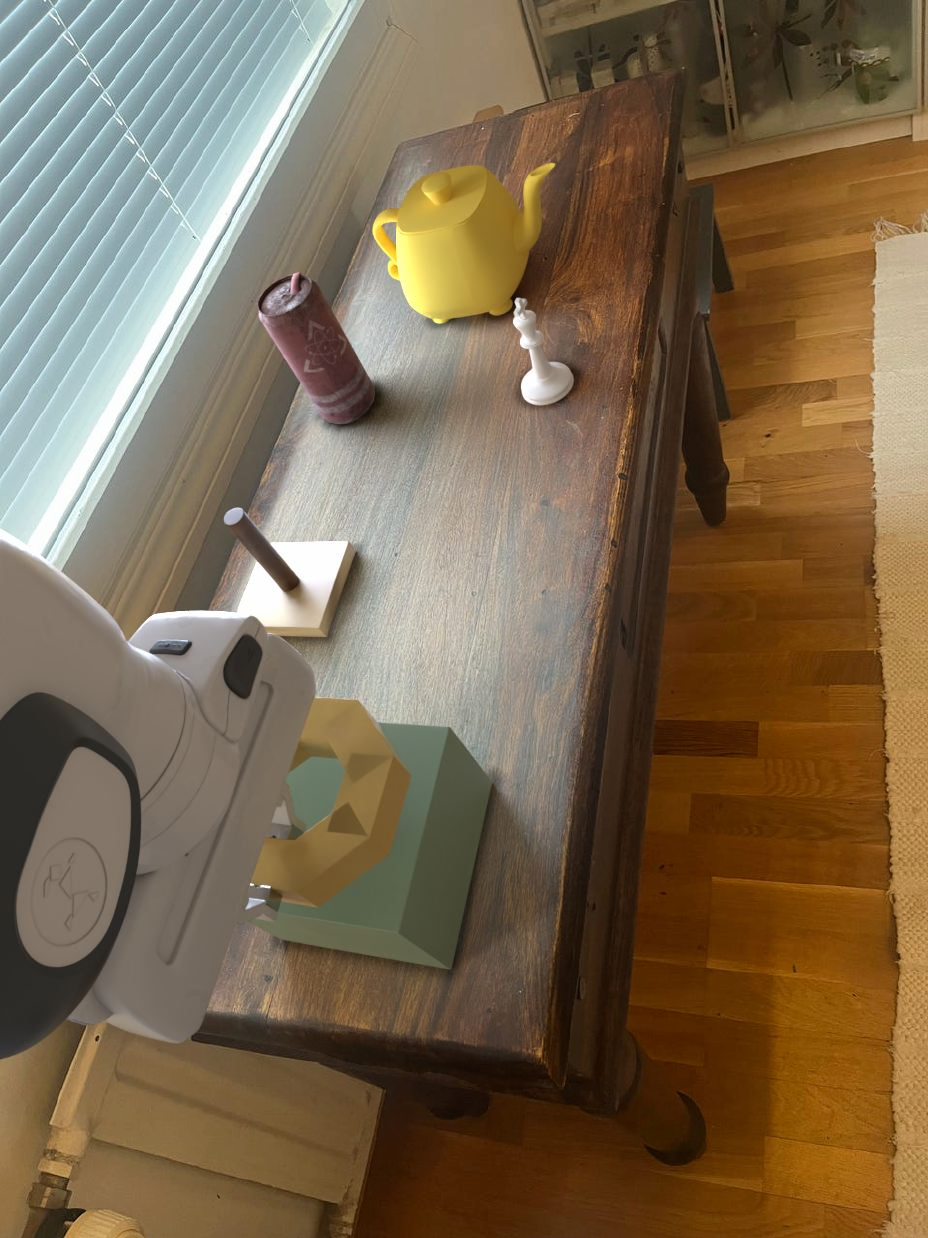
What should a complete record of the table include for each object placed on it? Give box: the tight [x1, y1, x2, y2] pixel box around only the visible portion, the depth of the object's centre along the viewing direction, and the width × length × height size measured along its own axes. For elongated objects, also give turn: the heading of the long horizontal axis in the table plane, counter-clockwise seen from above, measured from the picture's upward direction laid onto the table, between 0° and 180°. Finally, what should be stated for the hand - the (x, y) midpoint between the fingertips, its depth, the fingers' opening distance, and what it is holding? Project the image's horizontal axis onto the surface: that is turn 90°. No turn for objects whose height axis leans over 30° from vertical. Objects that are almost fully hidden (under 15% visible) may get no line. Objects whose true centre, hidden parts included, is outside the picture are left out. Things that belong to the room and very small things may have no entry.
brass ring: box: [250, 696, 411, 907], centre depth 55 cm, size 12×12×3 cm
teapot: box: [372, 162, 556, 324], centre depth 92 cm, size 14×20×13 cm
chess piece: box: [512, 297, 575, 406], centre depth 82 cm, size 5×5×10 cm
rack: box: [223, 507, 356, 638], centre depth 78 cm, size 9×9×11 cm
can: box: [256, 271, 376, 425], centre depth 89 cm, size 6×6×14 cm
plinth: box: [247, 721, 493, 970], centre depth 62 cm, size 13×13×9 cm
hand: (280, 871), depth 53 cm, fingers closed on brass ring, 3 cm apart
